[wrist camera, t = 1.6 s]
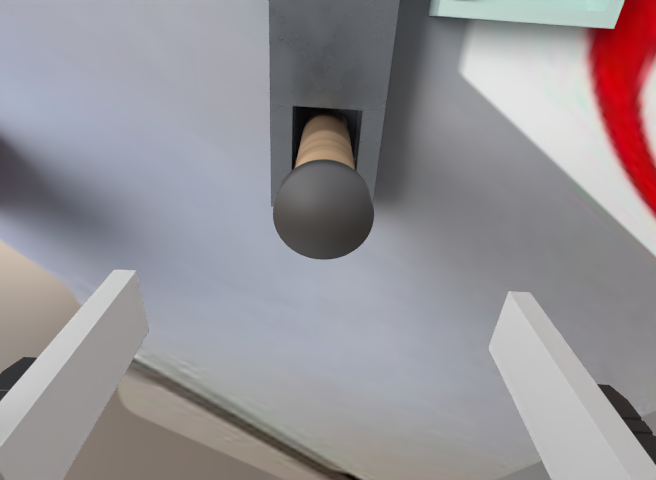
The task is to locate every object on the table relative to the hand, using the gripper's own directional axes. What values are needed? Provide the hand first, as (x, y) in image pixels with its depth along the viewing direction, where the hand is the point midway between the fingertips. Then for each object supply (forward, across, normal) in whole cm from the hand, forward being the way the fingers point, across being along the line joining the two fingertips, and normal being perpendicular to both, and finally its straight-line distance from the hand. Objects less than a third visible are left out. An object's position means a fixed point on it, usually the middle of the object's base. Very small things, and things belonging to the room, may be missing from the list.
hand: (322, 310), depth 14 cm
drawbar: (+24, 0, +6) cm, 25 cm away
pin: (+25, 0, 0) cm, 25 cm away
